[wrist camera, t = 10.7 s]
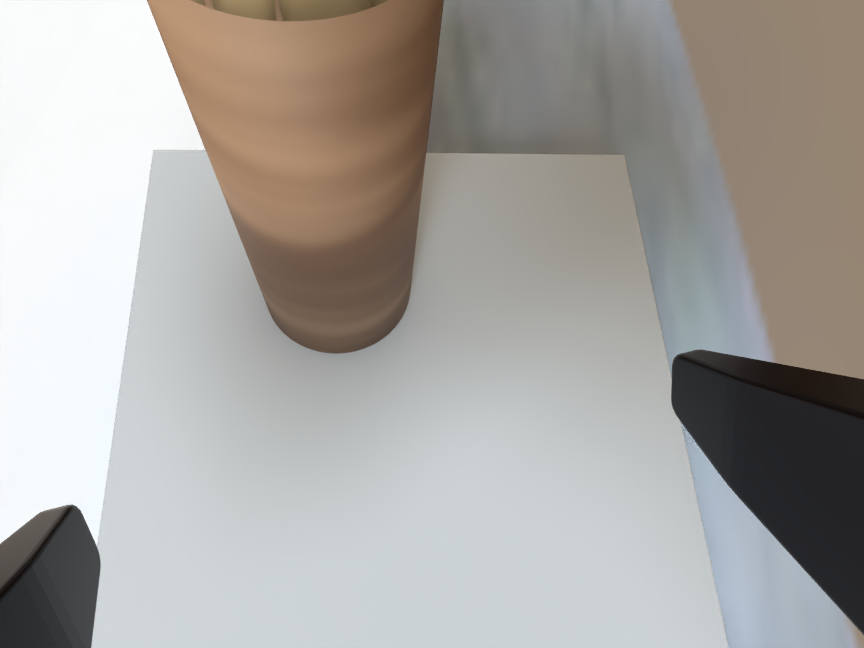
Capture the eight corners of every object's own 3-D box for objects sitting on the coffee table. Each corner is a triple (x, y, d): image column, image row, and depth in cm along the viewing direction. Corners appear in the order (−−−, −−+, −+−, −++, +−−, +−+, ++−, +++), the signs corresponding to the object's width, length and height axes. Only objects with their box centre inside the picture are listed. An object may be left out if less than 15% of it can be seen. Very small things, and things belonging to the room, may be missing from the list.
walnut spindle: (378, 374, 18) (381, -9, 6) (239, 322, 18) (-1, -137, 7) (430, 252, 19) (507, -224, 8) (302, 206, 20) (201, -317, 8)
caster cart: (707, 894, 17) (799, 980, 13) (104, 965, 15) (20, 1087, 12) (587, 216, 25) (624, 154, 22) (187, 216, 24) (153, 149, 20)
